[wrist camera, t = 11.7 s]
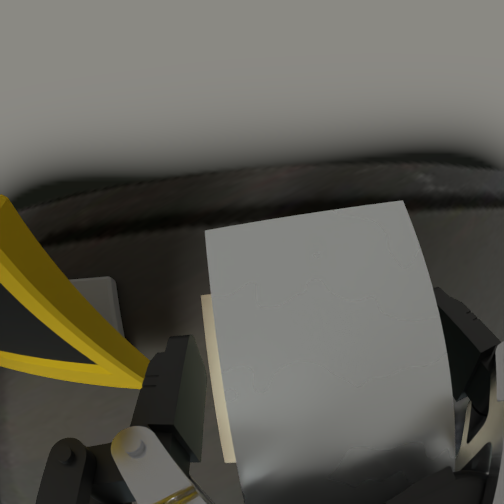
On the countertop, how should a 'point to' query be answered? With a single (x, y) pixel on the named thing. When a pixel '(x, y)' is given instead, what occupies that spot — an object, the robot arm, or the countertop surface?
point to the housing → (330, 356)
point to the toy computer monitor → (59, 316)
